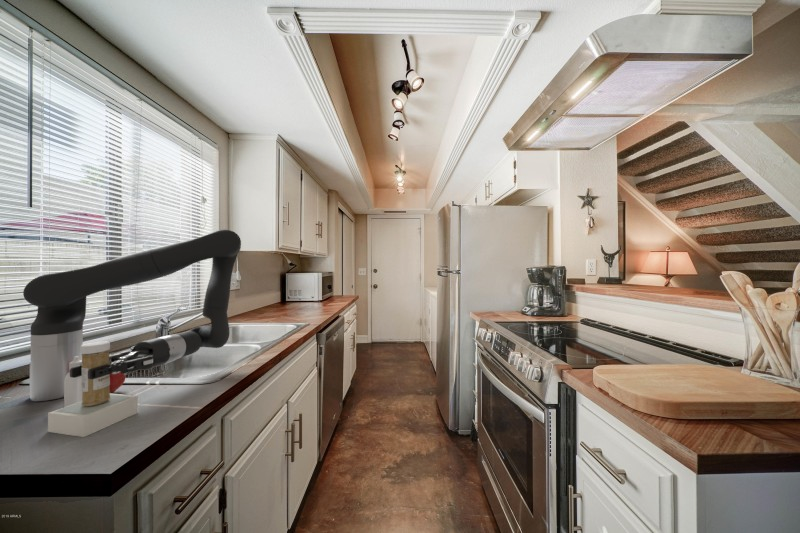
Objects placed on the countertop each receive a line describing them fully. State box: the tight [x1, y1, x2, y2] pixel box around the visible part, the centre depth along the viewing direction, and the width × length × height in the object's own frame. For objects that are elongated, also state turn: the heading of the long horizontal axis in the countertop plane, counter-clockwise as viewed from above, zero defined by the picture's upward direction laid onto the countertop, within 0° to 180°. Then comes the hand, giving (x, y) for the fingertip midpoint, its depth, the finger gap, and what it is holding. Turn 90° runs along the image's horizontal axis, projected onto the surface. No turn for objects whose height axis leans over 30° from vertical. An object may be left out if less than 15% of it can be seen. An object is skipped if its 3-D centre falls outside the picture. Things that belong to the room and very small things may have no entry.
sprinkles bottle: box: [81, 340, 111, 406], centre depth 64 cm, size 5×5×14 cm
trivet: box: [47, 393, 139, 438], centre depth 64 cm, size 10×10×4 cm
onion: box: [109, 372, 126, 394], centre depth 79 cm, size 6×6×8 cm
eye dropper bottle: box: [63, 356, 82, 407], centre depth 73 cm, size 4×6×12 cm
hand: (80, 373), depth 62 cm, fingers open, 4 cm apart
